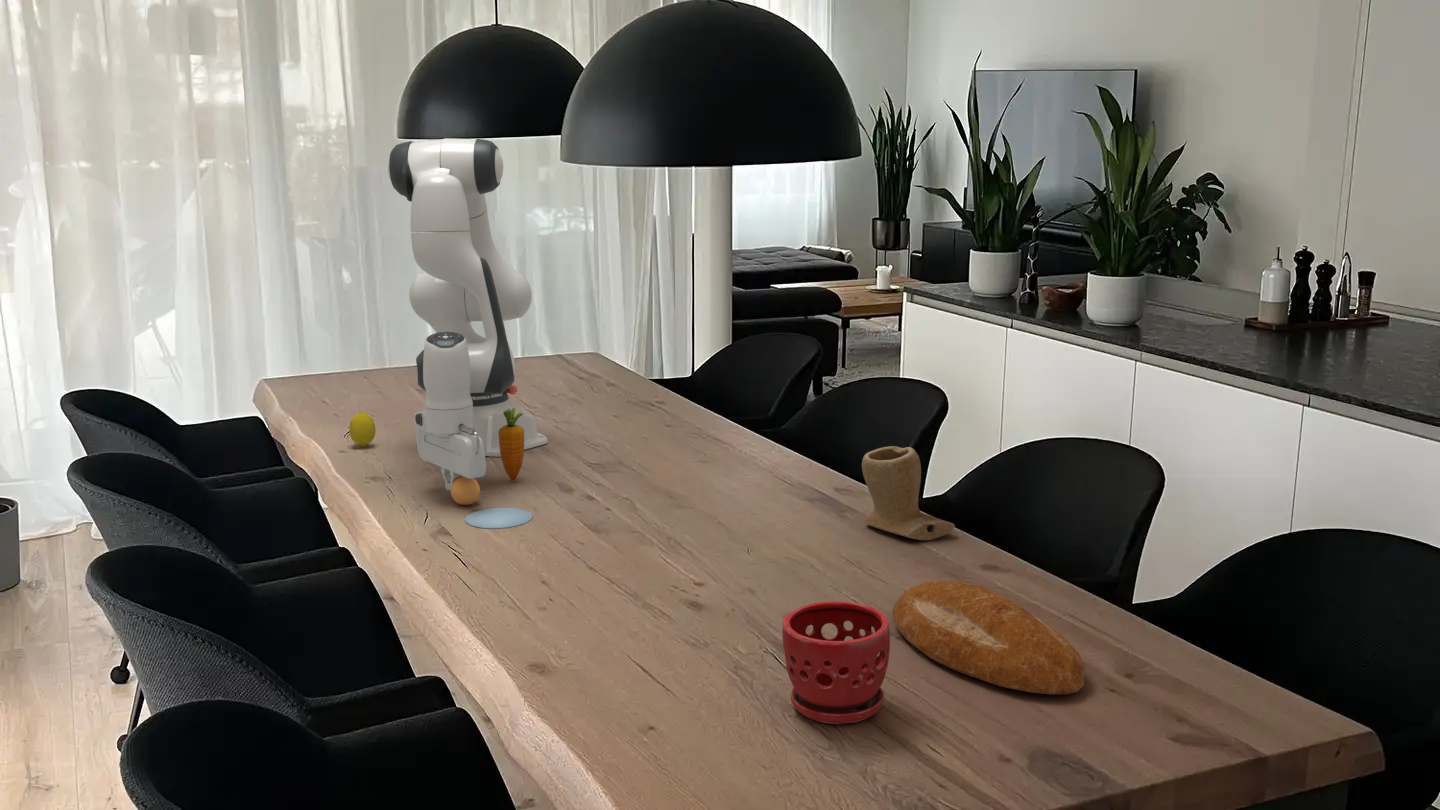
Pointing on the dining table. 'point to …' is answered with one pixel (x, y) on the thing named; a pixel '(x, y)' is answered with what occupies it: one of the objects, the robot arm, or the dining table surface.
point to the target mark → (498, 518)
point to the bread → (987, 638)
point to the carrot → (511, 444)
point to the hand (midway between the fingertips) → (453, 491)
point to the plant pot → (836, 661)
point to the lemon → (362, 429)
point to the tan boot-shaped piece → (899, 494)
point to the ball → (465, 491)
